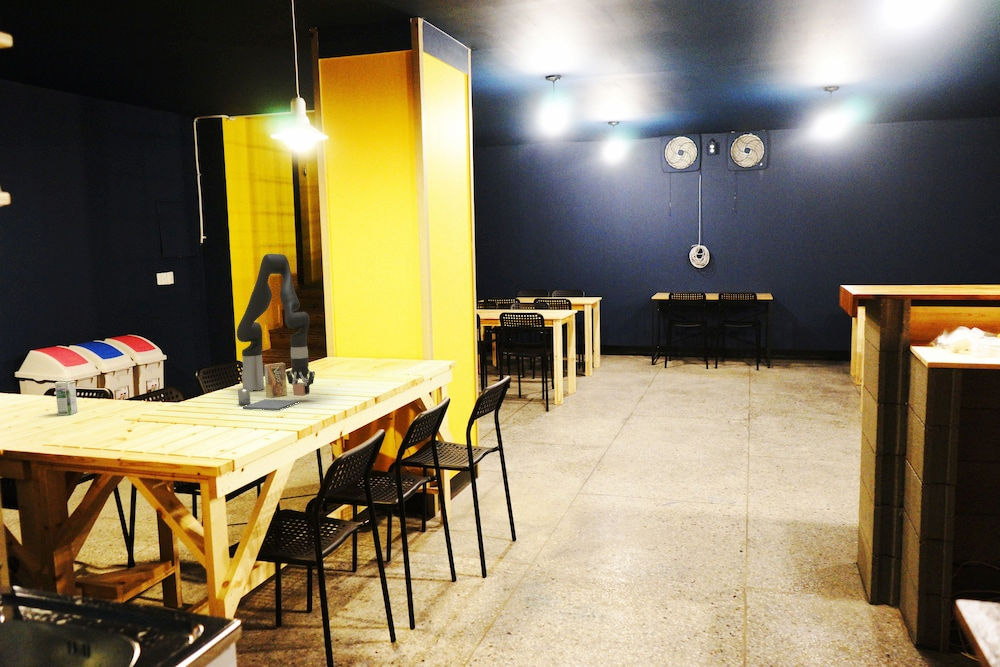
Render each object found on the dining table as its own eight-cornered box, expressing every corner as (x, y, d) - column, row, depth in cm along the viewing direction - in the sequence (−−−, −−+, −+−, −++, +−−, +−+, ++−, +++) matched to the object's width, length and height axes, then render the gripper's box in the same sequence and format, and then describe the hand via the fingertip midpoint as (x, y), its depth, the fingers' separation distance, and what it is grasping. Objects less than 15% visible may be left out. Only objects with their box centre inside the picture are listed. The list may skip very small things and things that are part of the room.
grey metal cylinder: (236, 405, 333) (235, 390, 332) (243, 403, 338) (242, 388, 337) (246, 406, 332) (244, 390, 331) (252, 403, 336) (251, 388, 336)
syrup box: (57, 415, 324) (54, 382, 322) (65, 412, 329) (62, 380, 328) (70, 415, 324) (67, 382, 322) (78, 412, 329) (75, 379, 328)
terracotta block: (293, 395, 338) (293, 384, 337) (299, 393, 342) (299, 382, 342) (303, 395, 336) (302, 385, 335) (309, 393, 341) (308, 382, 340)
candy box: (283, 394, 357) (281, 362, 355) (287, 395, 354) (285, 363, 352) (265, 396, 352) (263, 364, 350) (269, 398, 348) (267, 365, 347)
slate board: (242, 409, 326) (242, 406, 326) (265, 401, 341) (264, 399, 341) (278, 410, 320) (278, 408, 320) (299, 402, 335) (299, 400, 335)
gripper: (317, 355, 338) (319, 392, 341) (290, 354, 343) (292, 391, 345) (308, 358, 331) (310, 396, 333) (280, 357, 336) (283, 394, 338)
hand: (301, 393), depth 339 cm, fingers closed on terracotta block, 5 cm apart
